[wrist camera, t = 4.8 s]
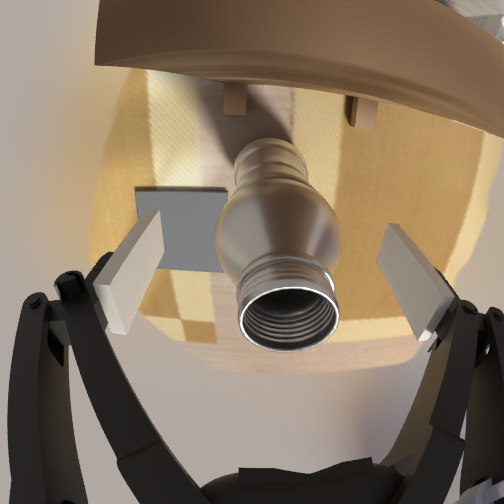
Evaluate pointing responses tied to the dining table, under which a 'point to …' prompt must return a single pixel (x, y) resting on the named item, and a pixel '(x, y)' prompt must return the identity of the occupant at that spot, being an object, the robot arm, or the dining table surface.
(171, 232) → the coaster
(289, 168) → the plastic bottle
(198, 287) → the dining table surface
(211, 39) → the screen
